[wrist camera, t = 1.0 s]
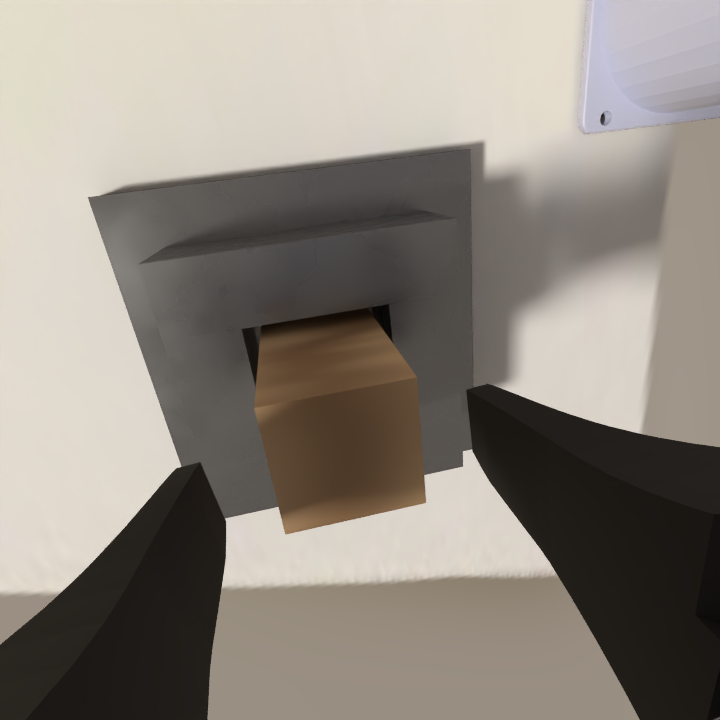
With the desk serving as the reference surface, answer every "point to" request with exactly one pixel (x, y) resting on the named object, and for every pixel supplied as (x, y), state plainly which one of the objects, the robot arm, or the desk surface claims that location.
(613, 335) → the desk surface
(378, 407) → the oak post
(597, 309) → the desk surface
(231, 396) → the metal sleeve
